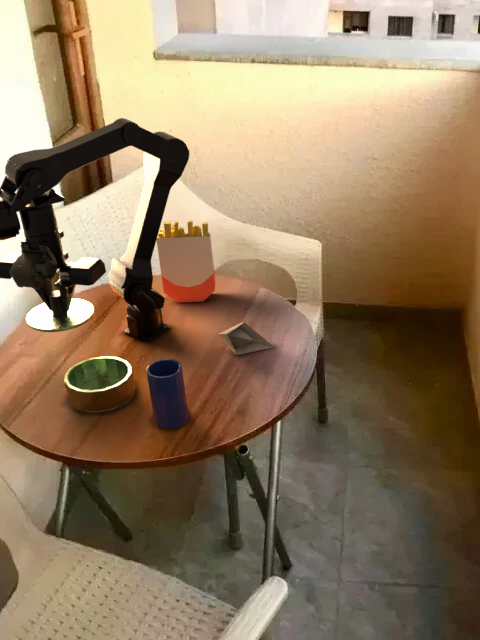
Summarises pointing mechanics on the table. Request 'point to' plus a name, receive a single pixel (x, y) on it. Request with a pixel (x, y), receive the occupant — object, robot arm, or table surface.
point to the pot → (100, 384)
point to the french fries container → (186, 262)
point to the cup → (167, 393)
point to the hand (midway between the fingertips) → (59, 310)
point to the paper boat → (244, 339)
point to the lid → (59, 315)
